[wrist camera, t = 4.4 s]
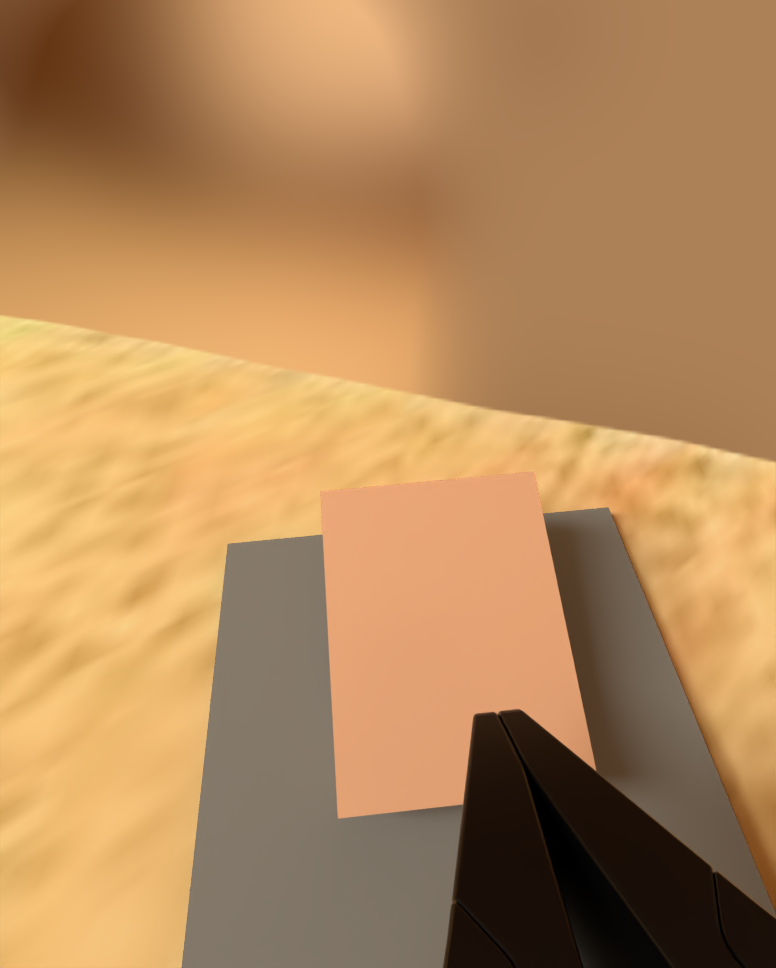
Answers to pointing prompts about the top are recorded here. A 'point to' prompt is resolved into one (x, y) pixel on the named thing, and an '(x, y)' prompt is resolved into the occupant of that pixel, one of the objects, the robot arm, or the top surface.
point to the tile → (439, 633)
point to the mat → (415, 833)
